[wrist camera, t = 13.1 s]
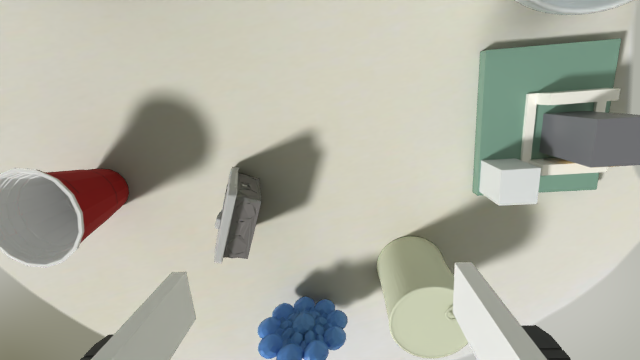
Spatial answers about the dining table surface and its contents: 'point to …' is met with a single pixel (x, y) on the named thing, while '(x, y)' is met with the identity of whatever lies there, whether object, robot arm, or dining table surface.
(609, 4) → the serving bowl
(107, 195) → the plastic cup
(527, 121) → the board
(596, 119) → the plug
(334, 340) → the grapes
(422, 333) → the can
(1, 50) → the dining table surface
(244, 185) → the electrical switch
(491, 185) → the plug
